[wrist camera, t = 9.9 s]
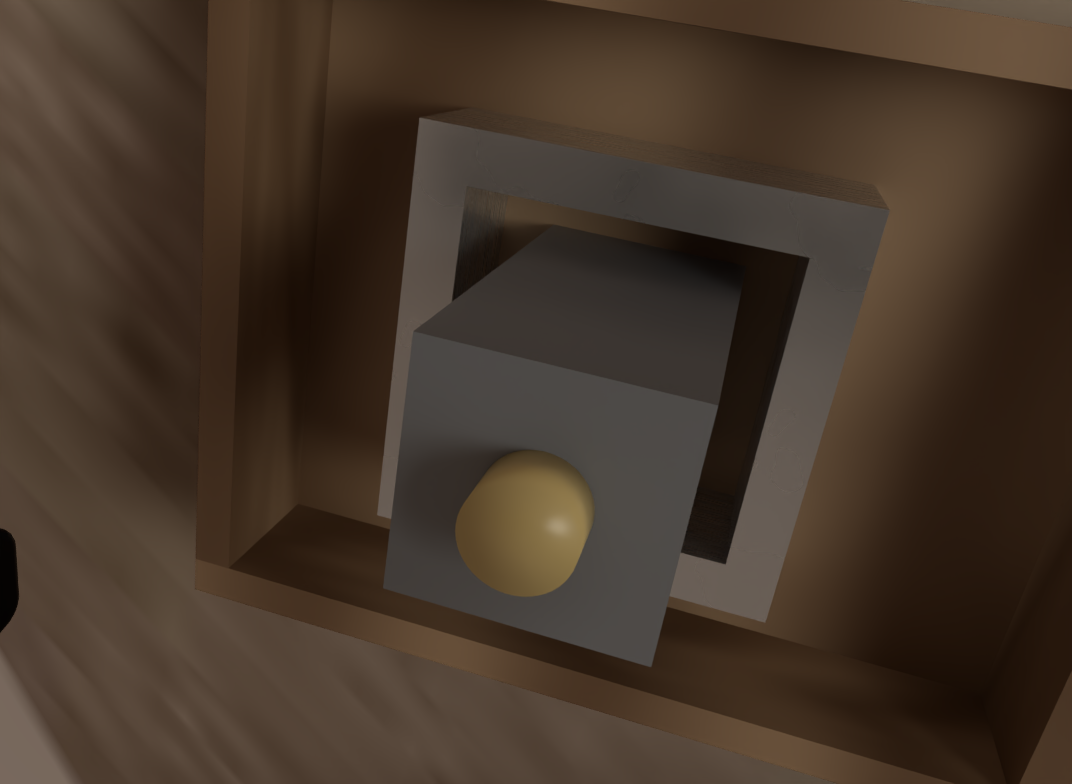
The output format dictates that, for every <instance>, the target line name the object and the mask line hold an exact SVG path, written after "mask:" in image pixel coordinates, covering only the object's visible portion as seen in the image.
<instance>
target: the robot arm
mask: <svg viewBox="0 0 1072 784" xmlns="http://www.w3.org/2000/svg"><path fill="white" fill-rule="evenodd" d="M18 600H19V588H18V572H17V557H16V544H15V540H14V538H13V537H12V535H11V533H9V532H8V531H6V530H4V529H1V528H0V632H1V631H2V630H3V629H4V628H5V627H6V625H7V624H8V623H9V622H10V620H11V619H12V617H13V615H14V613H15V611H16V608H17V605H18Z"/></svg>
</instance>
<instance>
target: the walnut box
mask: <svg viewBox="0 0 1072 784" xmlns="http://www.w3.org/2000/svg"><path fill="white" fill-rule="evenodd" d="M471 107H474V108H479V109H484V110H489V111H494V112H500V113H505V114H510V115H515V116H520V117H526V118H531V119H536V120H541V121H546V122H551V123H557V124H562V125H567V126H572V127H577V128H583V129H588V130H593V131H598V132H603V133H608V134H614V135H619V136H624V137H629V138H634V139H640V140H645V141H650V142H655V143H660V144H665V145H671V146H676V147H681V148H686V149H691V150H697V151H702V152H707V153H712V154H717V155H722V156H728V157H733V158H738V159H743V160H748V161H753V162H759V163H764V164H769V165H774V166H779V167H785V168H790V169H795V170H800V171H805V172H810V173H816V174H821V175H826V176H831V177H836V178H842V179H847V180H852V181H857V182H862V183H867V184H873V185H875V186H876V188H877V190H878V191H879V193H880V195H881V196H882V198H883V200H884V201H885V203H886V204H887V206H888V208H889V209H890V212H889V215H888V219H887V222H886V225H885V229H884V232H883V235H882V238H881V242H880V245H879V248H878V252H877V255H876V258H875V262H874V265H873V268H872V272H871V275H870V278H869V282H868V285H867V288H866V291H865V295H864V298H863V301H862V305H861V308H860V311H859V315H858V318H857V321H856V325H855V328H854V331H853V334H852V338H851V341H850V344H849V348H848V351H847V354H846V358H845V361H844V364H843V368H842V371H841V374H840V377H839V381H838V384H837V387H836V391H835V394H834V397H833V401H832V404H831V407H830V411H829V414H828V417H827V420H826V424H825V427H824V430H823V434H822V437H821V440H820V444H819V447H818V450H817V454H816V457H815V460H814V463H813V467H812V470H811V473H810V477H809V480H808V483H807V487H806V490H805V493H804V497H803V500H802V503H801V506H800V510H799V513H798V516H797V520H796V523H795V526H794V530H793V533H792V536H791V540H790V543H789V546H788V549H787V553H786V556H785V559H784V563H783V566H782V569H781V573H780V576H779V579H778V583H777V586H776V589H775V592H774V596H773V599H772V602H771V606H770V609H769V612H768V616H767V619H766V622H761V621H757V620H754V619H750V618H747V617H743V616H739V615H736V614H732V613H728V612H725V611H721V610H718V609H714V608H710V607H707V606H703V605H700V604H696V603H692V602H689V601H685V600H682V599H678V598H674V597H671V596H669V600H668V604H667V608H666V612H665V615H664V619H663V623H662V627H661V631H660V635H659V639H658V643H657V647H656V651H655V654H654V658H653V662H652V666H651V667H648V666H645V665H641V664H638V663H635V662H631V661H628V660H624V659H621V658H618V657H614V656H611V655H608V654H604V653H601V652H597V651H594V650H591V649H587V648H584V647H580V646H577V645H574V644H570V643H567V642H563V641H560V640H557V639H553V638H550V637H546V636H543V635H540V634H536V633H533V632H529V631H526V630H523V629H519V628H516V627H513V626H509V625H506V624H502V623H499V622H496V621H492V620H489V619H485V618H482V617H479V616H475V615H472V614H468V613H465V612H462V611H458V610H455V609H451V608H448V607H445V606H441V605H438V604H434V603H431V602H428V601H424V600H421V599H418V598H414V597H411V596H407V595H404V594H401V593H397V592H394V591H390V590H387V589H384V588H383V584H384V575H385V567H386V558H387V550H388V541H389V533H390V524H391V519H389V518H386V517H382V516H379V515H377V512H378V503H379V493H380V484H381V475H382V465H383V456H384V446H385V437H386V428H387V418H388V409H389V399H390V390H391V381H392V371H393V362H394V353H395V343H396V334H397V324H398V315H399V306H400V296H401V287H402V277H403V268H404V259H405V249H406V240H407V230H408V221H409V212H410V202H411V193H412V183H413V174H414V165H415V155H416V146H417V136H418V127H419V118H420V117H425V116H430V115H435V114H441V113H446V112H451V111H456V110H461V109H466V108H471ZM553 225H559V226H563V227H568V228H572V229H577V230H582V231H586V232H591V233H596V234H600V235H605V236H609V237H614V238H619V239H623V240H628V241H633V242H637V243H642V244H646V245H651V246H656V247H660V248H665V249H669V250H674V251H679V252H683V253H688V254H693V255H697V256H702V257H706V258H711V259H716V260H720V261H725V262H730V263H734V264H739V265H743V266H746V270H745V275H744V280H743V285H742V290H741V295H740V300H739V305H738V310H737V315H736V320H735V325H734V330H733V335H732V340H731V345H730V350H729V355H728V360H727V365H726V370H725V375H724V380H723V385H722V390H721V395H720V400H719V405H718V409H717V413H716V417H715V421H714V425H713V428H712V432H711V436H710V440H709V444H708V448H707V452H706V456H705V460H704V464H703V467H702V471H701V475H700V479H699V483H698V487H702V488H706V489H710V490H714V491H718V492H722V493H726V494H730V495H735V491H736V487H737V484H738V480H739V476H740V472H741V469H742V465H743V461H744V458H745V454H746V450H747V447H748V443H749V439H750V435H751V432H752V428H753V424H754V421H755V417H756V413H757V410H758V406H759V402H760V398H761V395H762V391H763V387H764V384H765V380H766V376H767V373H768V369H769V365H770V361H771V358H772V354H773V350H774V347H775V343H776V339H777V336H778V332H779V328H780V324H781V321H782V317H783V313H784V310H785V306H786V302H787V299H788V295H789V291H790V287H791V284H792V280H793V276H794V273H795V269H796V265H797V262H798V258H799V255H794V254H789V253H784V252H779V251H775V250H770V249H765V248H760V247H756V246H751V245H746V244H741V243H736V242H732V241H727V240H722V239H717V238H712V237H708V236H703V235H698V234H693V233H688V232H684V231H679V230H674V229H669V228H664V227H660V226H655V225H650V224H645V223H640V222H636V221H631V220H626V219H621V218H616V217H612V216H607V215H602V214H597V213H592V212H588V211H583V210H578V209H573V208H569V207H564V206H559V205H554V204H549V203H545V202H540V201H535V200H530V199H525V198H521V197H516V196H511V195H508V200H507V206H506V213H505V220H504V227H503V234H502V241H501V248H500V254H499V261H498V267H499V266H500V265H501V264H503V263H504V262H505V261H507V260H508V259H509V258H511V257H512V256H513V255H515V254H516V253H517V252H518V251H520V250H521V249H522V248H524V247H525V246H526V245H528V244H529V243H530V242H532V241H533V240H534V239H536V238H537V237H538V236H540V235H541V234H542V233H544V232H545V231H546V230H548V229H549V228H550V227H551V226H553ZM195 589H196V590H200V591H203V592H206V593H210V594H213V595H216V596H219V597H223V598H226V599H229V600H233V601H236V602H239V603H243V604H246V605H249V606H253V607H256V608H259V609H262V610H266V611H269V612H272V613H276V614H279V615H282V616H286V617H289V618H292V619H295V620H299V621H302V622H305V623H309V624H312V625H315V626H319V627H322V628H325V629H329V630H332V631H335V632H338V633H342V634H345V635H348V636H352V637H355V638H358V639H362V640H365V641H368V642H371V643H375V644H378V645H381V646H385V647H388V648H391V649H395V650H398V651H401V652H405V653H408V654H411V655H414V656H418V657H421V658H424V659H428V660H431V661H434V662H438V663H441V664H444V665H447V666H451V667H454V668H457V669H461V670H464V671H467V672H471V673H474V674H477V675H481V676H484V677H487V678H490V679H494V680H497V681H500V682H504V683H507V684H510V685H514V686H517V687H520V688H523V689H527V690H530V691H533V692H537V693H540V694H543V695H547V696H550V697H553V698H557V699H560V700H563V701H566V702H570V703H573V704H576V705H580V706H583V707H586V708H590V709H593V710H596V711H599V712H603V713H606V714H609V715H613V716H616V717H619V718H623V719H626V720H629V721H633V722H636V723H639V724H642V725H646V726H649V727H652V728H656V729H659V730H662V731H666V732H669V733H672V734H675V735H679V736H682V737H685V738H689V739H692V740H695V741H699V742H702V743H705V744H709V745H712V746H715V747H718V748H722V749H725V750H728V751H732V752H735V753H738V754H742V755H745V756H748V757H751V758H755V759H758V760H761V761H765V762H768V763H771V764H775V765H778V766H781V767H785V768H788V769H791V770H794V771H798V772H801V773H804V774H808V775H811V776H814V777H818V778H821V779H824V780H827V781H831V782H834V783H837V784H1071V783H1072V28H1071V27H1065V26H1059V25H1053V24H1046V23H1040V22H1034V21H1027V20H1021V19H1015V18H1009V17H1002V16H996V15H990V14H983V13H977V12H971V11H965V10H958V9H952V8H946V7H939V6H933V5H927V4H921V3H914V2H908V1H902V0H208V35H207V80H206V125H205V169H204V214H203V258H202V303H201V347H200V392H199V437H198V481H197V526H196V570H195Z"/></svg>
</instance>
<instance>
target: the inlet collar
mask: <svg viewBox="0 0 1072 784" xmlns="http://www.w3.org/2000/svg"><path fill="white" fill-rule="evenodd" d="M508 195H511V196H516V197H521V198H525V199H530V200H535V201H540V202H545V203H549V204H554V205H559V206H564V207H569V208H573V209H578V210H583V211H588V212H592V213H597V214H602V215H607V216H612V217H616V218H621V219H626V220H631V221H636V222H640V223H645V224H650V225H655V226H660V227H664V228H669V229H674V230H679V231H684V232H688V233H693V234H698V235H703V236H708V237H712V238H717V239H722V240H727V241H732V242H736V243H741V244H746V245H751V246H756V247H760V248H765V249H770V250H775V251H779V252H784V253H789V254H794V255H799V258H798V262H797V265H796V269H795V273H794V276H793V280H792V284H791V287H790V291H789V295H788V299H787V302H786V306H785V310H784V313H783V317H782V321H781V324H780V328H779V332H778V336H777V339H776V343H775V347H774V350H773V354H772V358H771V361H770V365H769V369H768V373H767V376H766V380H765V384H764V387H763V391H762V395H761V398H760V402H759V406H758V410H757V413H756V417H755V421H754V424H753V428H752V432H751V435H750V439H749V443H748V447H747V450H746V454H745V458H744V461H743V465H742V469H741V472H740V476H739V480H738V484H737V487H736V491H735V495H730V494H726V493H722V492H718V491H714V490H710V489H706V488H702V487H697V491H696V495H695V499H694V503H693V506H692V510H691V514H690V518H689V522H688V526H687V530H686V534H685V538H684V541H683V545H682V549H681V553H680V557H679V561H678V565H677V569H676V573H675V577H674V580H673V584H672V588H671V592H670V596H671V597H674V598H678V599H682V600H685V601H689V602H692V603H696V604H700V605H703V606H707V607H710V608H714V609H718V610H721V611H725V612H728V613H732V614H736V615H739V616H743V617H747V618H750V619H754V620H757V621H761V622H766V619H767V616H768V612H769V609H770V606H771V602H772V599H773V596H774V592H775V589H776V586H777V583H778V579H779V576H780V573H781V569H782V566H783V563H784V559H785V556H786V553H787V549H788V546H789V543H790V540H791V536H792V533H793V530H794V526H795V523H796V520H797V516H798V513H799V510H800V506H801V503H802V500H803V497H804V493H805V490H806V487H807V483H808V480H809V477H810V473H811V470H812V467H813V463H814V460H815V457H816V454H817V450H818V447H819V444H820V440H821V437H822V434H823V430H824V427H825V424H826V420H827V417H828V414H829V411H830V407H831V404H832V401H833V397H834V394H835V391H836V387H837V384H838V381H839V377H840V374H841V371H842V368H843V364H844V361H845V358H846V354H847V351H848V348H849V344H850V341H851V338H852V334H853V331H854V328H855V325H856V321H857V318H858V315H859V311H860V308H861V305H862V301H863V298H864V295H865V291H866V288H867V285H868V282H869V278H870V275H871V272H872V268H873V265H874V262H875V258H876V255H877V252H878V248H879V245H880V242H881V238H882V235H883V232H884V229H885V225H886V222H887V219H888V215H889V212H890V209H889V208H888V206H887V204H886V203H885V201H884V200H883V198H882V196H881V195H880V193H879V191H878V190H877V188H876V186H875V185H873V184H867V183H862V182H857V181H852V180H847V179H842V178H836V177H831V176H826V175H821V174H816V173H810V172H805V171H800V170H795V169H790V168H785V167H779V166H774V165H769V164H764V163H759V162H753V161H748V160H743V159H738V158H733V157H728V156H722V155H717V154H712V153H707V152H702V151H697V150H691V149H686V148H681V147H676V146H671V145H665V144H660V143H655V142H650V141H645V140H640V139H634V138H629V137H624V136H619V135H614V134H608V133H603V132H598V131H593V130H588V129H583V128H577V127H572V126H567V125H562V124H557V123H551V122H546V121H541V120H536V119H531V118H526V117H520V116H515V115H510V114H505V113H500V112H494V111H489V110H484V109H479V108H474V107H471V108H466V109H461V110H456V111H451V112H446V113H441V114H435V115H430V116H425V117H420V118H419V127H418V136H417V146H416V155H415V165H414V174H413V183H412V193H411V202H410V212H409V221H408V230H407V240H406V249H405V259H404V268H403V277H402V287H401V296H400V306H399V315H398V324H397V334H396V343H395V353H394V362H393V371H392V381H391V390H390V399H389V409H388V418H387V428H386V437H385V446H384V456H383V465H382V475H381V484H380V493H379V503H378V512H377V515H379V516H382V517H386V518H389V519H391V516H392V507H393V498H394V490H395V481H396V473H397V464H398V456H399V447H400V439H401V430H402V422H403V413H404V405H405V396H406V388H407V379H408V371H409V362H410V353H411V345H412V336H413V331H414V330H416V329H417V328H418V327H419V326H421V325H422V324H423V323H425V322H426V321H427V320H429V319H430V318H431V317H433V316H434V315H435V314H437V313H438V312H439V311H441V310H442V309H443V308H445V307H446V306H447V305H449V304H450V303H451V302H452V301H454V300H455V299H456V298H458V297H459V296H460V295H462V294H463V293H464V292H466V291H467V290H468V289H470V288H471V287H472V286H474V285H475V284H476V283H478V282H479V281H480V280H482V279H483V278H484V277H485V276H487V275H488V274H489V273H491V272H492V271H493V270H495V269H496V268H497V267H498V261H499V254H500V248H501V241H502V234H503V227H504V220H505V213H506V206H507V200H508Z"/></svg>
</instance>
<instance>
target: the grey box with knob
mask: <svg viewBox="0 0 1072 784" xmlns="http://www.w3.org/2000/svg"><path fill="white" fill-rule="evenodd" d="M745 270H746V266H743V265H739V264H734V263H730V262H725V261H720V260H716V259H711V258H706V257H702V256H697V255H693V254H688V253H683V252H679V251H674V250H669V249H665V248H660V247H656V246H651V245H646V244H642V243H637V242H633V241H628V240H623V239H619V238H614V237H609V236H605V235H600V234H596V233H591V232H586V231H582V230H577V229H572V228H568V227H563V226H559V225H553V226H551V227H550V228H549V229H548V230H546V231H545V232H544V233H542V234H541V235H540V236H538V237H537V238H536V239H534V240H533V241H532V242H530V243H529V244H528V245H526V246H525V247H524V248H522V249H521V250H520V251H518V252H517V253H516V254H515V255H513V256H512V257H511V258H509V259H508V260H507V261H505V262H504V263H503V264H501V265H500V266H499V267H497V268H496V269H495V270H493V271H492V272H491V273H489V274H488V275H487V276H485V277H484V278H483V279H482V280H480V281H479V282H478V283H476V284H475V285H474V286H472V287H471V288H470V289H468V290H467V291H466V292H464V293H463V294H462V295H460V296H459V297H458V298H456V299H455V300H454V301H452V302H451V303H450V304H449V305H447V306H446V307H445V308H443V309H442V310H441V311H439V312H438V313H437V314H435V315H434V316H433V317H431V318H430V319H429V320H427V321H426V322H425V323H423V324H422V325H421V326H419V327H418V328H417V329H416V330H414V331H413V336H412V345H411V353H410V362H409V371H408V379H407V388H406V396H405V405H404V413H403V422H402V430H401V439H400V447H399V456H398V464H397V473H396V481H395V490H394V498H393V507H392V516H391V524H390V533H389V541H388V550H387V558H386V567H385V575H384V584H383V588H384V589H387V590H390V591H394V592H397V593H401V594H404V595H407V596H411V597H414V598H418V599H421V600H424V601H428V602H431V603H434V604H438V605H441V606H445V607H448V608H451V609H455V610H458V611H462V612H465V613H468V614H472V615H475V616H479V617H482V618H485V619H489V620H492V621H496V622H499V623H502V624H506V625H509V626H513V627H516V628H519V629H523V630H526V631H529V632H533V633H536V634H540V635H543V636H546V637H550V638H553V639H557V640H560V641H563V642H567V643H570V644H574V645H577V646H580V647H584V648H587V649H591V650H594V651H597V652H601V653H604V654H608V655H611V656H614V657H618V658H621V659H624V660H628V661H631V662H635V663H638V664H641V665H645V666H648V667H651V666H652V662H653V658H654V654H655V651H656V647H657V643H658V639H659V635H660V631H661V627H662V623H663V619H664V615H665V612H666V608H667V604H668V600H669V596H670V592H671V588H672V584H673V580H674V577H675V573H676V569H677V565H678V561H679V557H680V553H681V549H682V545H683V541H684V538H685V534H686V530H687V526H688V522H689V518H690V514H691V510H692V506H693V503H694V499H695V495H696V491H697V487H698V483H699V479H700V475H701V471H702V467H703V464H704V460H705V456H706V452H707V448H708V444H709V440H710V436H711V432H712V428H713V425H714V421H715V417H716V413H717V409H718V405H719V400H720V395H721V390H722V385H723V380H724V375H725V370H726V365H727V360H728V355H729V350H730V345H731V340H732V335H733V330H734V325H735V320H736V315H737V310H738V305H739V300H740V295H741V290H742V285H743V280H744V275H745Z"/></svg>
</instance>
